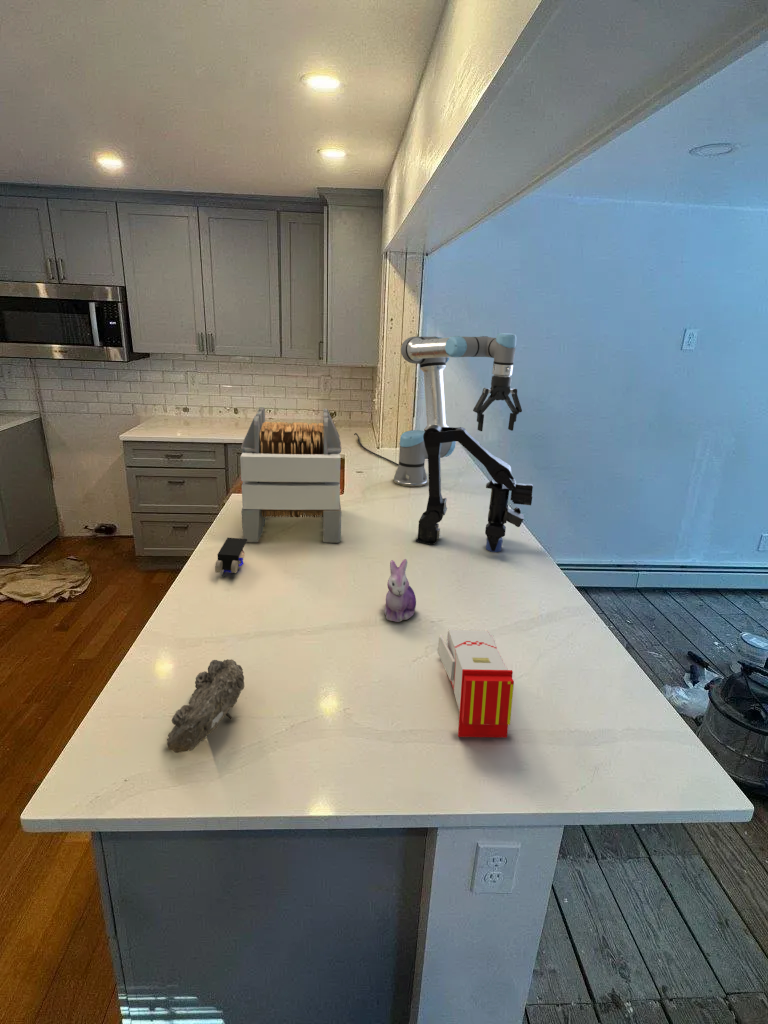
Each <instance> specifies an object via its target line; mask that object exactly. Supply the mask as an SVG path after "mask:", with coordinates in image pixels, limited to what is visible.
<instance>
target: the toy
mask: <svg viewBox="0 0 768 1024" xmlns="http://www.w3.org/2000/svg"><path fill="white" fill-rule="evenodd" d="M446 640H447V643H446V641H445V639H444V636H443V635H442V634H439V637H438V646H437V656H438V657H439V659H440V661H441V663H442V666H443V668H444V670H445V672H446V674H447V677H448V679H449V681H450V684H451V687H452V690H453V693H454V697H455V701H456V705H457V708H458V711H459V714H458V715H459V716H458V730H457V731H458V732H457V737H458V738H508V731H509V726H510V725H511V717H512V707H513V697H514V696H513V695H514V684H515V680H514V679H513V673H514V671H513V670H512V669H508V667H507V665H506V662H505V661H504V659H503V658H502V655H501V653H500V651H499V649H498V647H497V643H496V639H495V637H494V635H493V634H491V632H490V631H489V629H467V628H466V629H465V628H463V629H461V628H460V629H459V628H448V630H447V639H446Z"/></svg>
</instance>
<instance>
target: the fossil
mask: <svg viewBox="0 0 768 1024" xmlns="http://www.w3.org/2000/svg"><path fill="white" fill-rule="evenodd" d="M243 670H244V669H243V667H242V665H240V664H237V662H236V661H235V660H234V659H232V658H231V659H227V658H226V659H224V660H223V661H222V660H217V659H212V660H211V661H210V663H209V665H208V666H207V671H201V672H199V673H198V674H197V675H196V676H195V680H194V684H195V685H194V687H195V689H194V690H193V693H192V694H191V697H190V698H189V700H188V704H184V705H182V706H181V707H180V709H177V710H176V711H175V713H174V715H173V716H172V718H171V723H172V724H173V727H172V730H171V731H170V732H168V734H167V738H166V741H167V742H166V745H167V749H168V750H169V751H173V752H174V753H176V754H178V753H182V752H188V751H189V752H192V751H193V750H195V748H196V747H197V746H199V744H200V743H201V742H203V741H204V740H205V739H206V738H207V737H208V736H209V735H210V734H211V733H212V732H214V730H215V729H217V727H218V726H219V724H220V722H221V721H222V720H223V719H224V718H225V716H226V717H227V719H229V720H233V717H232V715H230V714H229V710H230V709H231V708H234V706H235V704H236V703H237V702H238V699H239V697H240V695H241V693H242V691H243V690H245V689H244V688H245V675H244V671H243Z"/></svg>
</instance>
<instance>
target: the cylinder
mask: <svg viewBox="0 0 768 1024" xmlns="http://www.w3.org/2000/svg"><path fill="white" fill-rule="evenodd" d="M503 540H504V538H503V537H501V538H500V539H499V541H498V544H497V546H496V549H495V551H492V550H491V548H490V544H489V542H488V539H487V538H486V544H485V550H486V551H488V552H492V553H499V552H502V547H503Z"/></svg>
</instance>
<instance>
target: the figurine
mask: <svg viewBox="0 0 768 1024" xmlns="http://www.w3.org/2000/svg"><path fill="white" fill-rule="evenodd" d="M407 567H408V559H406V558H404V559H403V560H402V561H401V563H400V565H399V566H398V565H397V563H396V562H395V561H394V560H393V559H391V560H390V561H389V570H390V576H389V578H388V579H387V589H388V591H387V592H386V594H385V595H386V596H385V607H384V615H385V616H386V620H387V621H391V622H395V623H400V622H402V621H406V620H409V619H410V618H411V617H413V616H414V615H415V610H416V606H417V597H416V593H415V591H414V590H413V587H411V586H410V582H409V579H408V577H407V574H406V571H407Z"/></svg>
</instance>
